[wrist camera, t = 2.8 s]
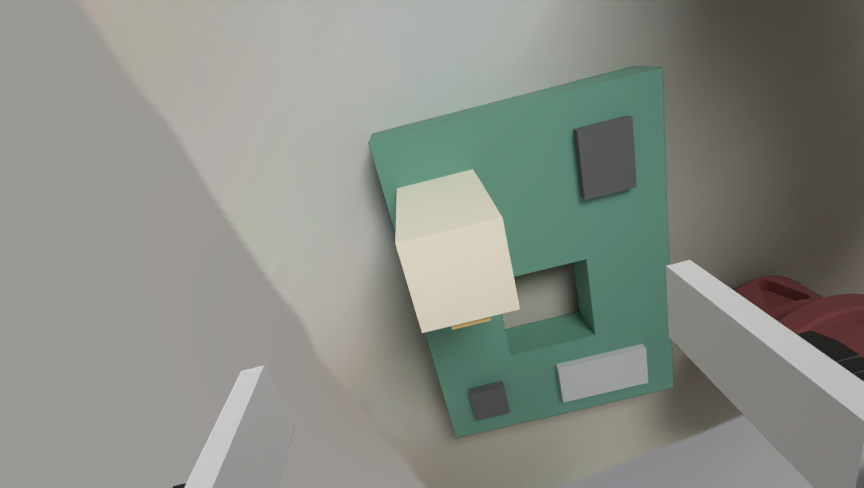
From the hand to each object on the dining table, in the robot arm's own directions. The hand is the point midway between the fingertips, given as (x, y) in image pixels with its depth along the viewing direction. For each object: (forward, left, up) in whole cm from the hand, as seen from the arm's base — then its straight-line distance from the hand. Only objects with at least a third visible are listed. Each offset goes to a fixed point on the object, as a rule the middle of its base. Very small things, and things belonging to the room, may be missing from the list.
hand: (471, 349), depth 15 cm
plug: (0, 0, -13) cm, 13 cm away
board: (+6, +5, -16) cm, 18 cm away
